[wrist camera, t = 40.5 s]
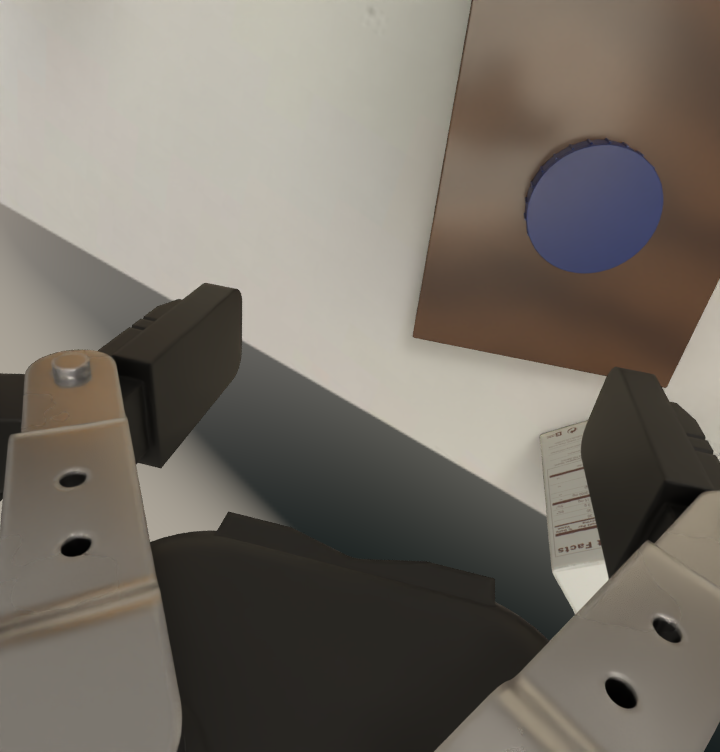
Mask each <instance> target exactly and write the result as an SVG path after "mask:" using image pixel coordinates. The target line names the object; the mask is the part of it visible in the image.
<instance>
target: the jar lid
mask: <svg viewBox="0 0 720 752" xmlns="http://www.w3.org/2000/svg"><path fill="white" fill-rule="evenodd" d="M643 156H644V155H643V154H642V153H641V152H639V151H638V150H637V151H635V150H633V149H632V148H630V147H629V146H628V145H627V144H626V143H624V142H622V143H619V142H616V141H611V140H609V139H608V138H605V140H590V139H587V141H584V142H580V143H577V144H574V145H572V144H570V145H569V147H567V148H565V149H563V150H562V151H560V152H559V153H557V154H555V153H554V154H553V157H552V158H551V159H549V160H548V161H547V162H546V163H545V164H544V166H543V167H542V166H541V167H540V170H539V172H538V173H537V174H536V176H535V178H534V180H533V181H531V182H530V184H531V186H530V188H529V191H528V194H527V197H525V203H526V205H525V213H524V220H526V224H527V228H526V229H527V235H528V236H529V238H530V240H531V242H532V244H533V246H534V249H536V251H537V252H538V253H539V254H540V256H541V257H543V258H544V259H545V260H546V261H547V262H549V263H550V264H552V265H553V266H555V267H557V268H559V269H562V270H565V271H568V272H573V273H596V272H601V271H605V270H608V269H611V268H614V267H616V266H618V265H620V264H622V263H624V262H626V261H627V260H629V259H630V258H632V257H633V256H634V255H635V254H637V253H638V252H639V251H640V250H641V249H642V248H643V247H644V246H645V245H646V244H647V242H648V241H649V240H650V238H651V237H652V235H653V233H654V232H655V230H656V228H657V226H658V223H659V221H660V218H661V214H662V209H663V190H662V185H661V182H660V179H659V176H658V174H657V172H656V171H655V167H654V166H653V165H651V164H650V163H649V162H648V161H647V160H646V159H645V158H644V157H643Z"/></svg>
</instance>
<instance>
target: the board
mask: <svg viewBox="0 0 720 752" xmlns="http://www.w3.org/2000/svg"><path fill="white" fill-rule="evenodd" d="M605 138H608V139H609V140H611V141H616V142H619V143H622V142H624V143H626V144H627V145H628V146H629V147H630V148H632V149H633V150H635V151H637V150H638V151H639V152H641V153H642V154H643V155H644V156H643V157H644V158H645V159H646V160H647V161H648V162H649V163H650V164H651V165H653V166H654V167H655V171H656V172H657V174H658V176H659V179H660V182H661V185H662V190H663V209H662V214H661V218H660V221H659V223H658V226H657V228H656V230H655V232H654V233H653V235H652V237H651V238H650V240H649V241H648V242H647V244H646V245H645V246H644V247H643V248H642V249H641V250H640V251H639V252H638V253H637V254H635V255H634V256H633V257H632V258H630V259H629V260H627V261H626V262H624V263H622V264H620V265H618V266H616V267H614V268H611V269H608V270H605V271H601V272H596V273H573V272H568V271H565V270H562V269H559V268H557V267H555V266H553V265H552V264H550V263H549V262H547V261H546V260H545V259H544V258H543V257H541V256H540V254H539V253H538V252H537V251H536V249H534V246H533V244H532V242H531V240H530V238H529V236H528V235H527V229H526V228H527V224H526V220H524V213H525V205H526V203H525V197H527V194H528V191H529V188H530V186H531V184H530V182H531V181H533V180H534V178H535V176H536V174H537V173H538V172H539V170H540V167H541V166H542V167H543V166H544V164H545V163H546V162H547V161H548V160H549V159H551V158H552V157H553V154H554V153H555V154H557V153H559V152H560V151H562V150H563V149H565V148H567V147H569V145H570V144H572V145H574V144H577V143H580V142H584V141H587V139H590V140H605ZM719 279H720V0H472V2H471V8H470V14H469V19H468V25H467V31H466V36H465V42H464V48H463V53H462V59H461V65H460V70H459V76H458V82H457V87H456V93H455V99H454V104H453V110H452V116H451V121H450V127H449V133H448V138H447V144H446V150H445V155H444V161H443V167H442V172H441V178H440V184H439V189H438V195H437V201H436V206H435V212H434V218H433V223H432V229H431V235H430V240H429V246H428V252H427V257H426V263H425V269H424V274H423V280H422V286H421V291H420V297H419V303H418V308H417V314H416V320H415V325H414V331H413V337H414V338H419V339H424V340H429V341H434V342H439V343H444V344H449V345H454V346H459V347H464V348H469V349H474V350H479V351H484V352H489V353H494V354H499V355H504V356H509V357H514V358H519V359H524V360H529V361H534V362H539V363H544V364H549V365H554V366H559V367H564V368H569V369H574V370H579V371H584V372H589V373H594V374H599V375H604V376H607V375H608V374H609V372H610V371H611V369H612V368H614V367H620V368H625V369H630V370H635V371H640V372H645V373H650V374H654V375H655V376H656V377H657V379H658V381H659V383H660V385H661V387H664V388H666V387H667V385H668V383H669V381H670V379H671V377H672V375H673V373H674V371H675V369H676V367H677V365H678V363H679V361H680V359H681V357H682V355H683V353H684V350H685V348H686V346H687V344H688V342H689V340H690V338H691V336H692V334H693V332H694V330H695V328H696V326H697V324H698V322H699V320H700V318H701V316H702V313H703V311H704V309H705V307H706V305H707V303H708V301H709V299H710V297H711V295H712V293H713V291H714V289H715V287H716V285H717V283H718V281H719Z"/></svg>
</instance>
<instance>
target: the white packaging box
mask: <svg viewBox="0 0 720 752" xmlns="http://www.w3.org/2000/svg"><path fill="white" fill-rule="evenodd" d="M587 422H588V421H584V422H581V423H578V424H574V425H571V426H567V427H564V428H561V429H558V430H554V431H551V432H548V433H545V434H542V435H540V445H541V455H542V465H543V477H544V489H545V500H546V513H547V525H548V536H549V547H550V556H551V565H552V572H553V575H554V576H555V578H556V580H557V582H558V584H559V585H560V587H561V589H562V590H563V592H564V594H565V596H566V598H567V599H568V601H569V603H570V605H571V607H572V608H573V610H574V612H575V614H576V613H577V612H578V611H579V610H580V609H581V608H582V607H583V606H584V605H585V604H586V603H587V602H588V601H589V600H590V599H591V598H592V597H593V596H594V594H595V593H596V592H597V591H598V590H599V589H600V588H601V587H602V586H603V585H604V584H605V583H606V582H607V581H608V580H609V578H608V573H607V569H606V565H605V560H604V556H603V551H602V547H601V542H600V538H599V534H598V529H597V525H596V520H595V516H594V512H593V507H592V503H591V498H590V494H589V489H588V485H587V481H586V476H585V472H584V467H583V463H582V459H581V441H582V436H583V432H584V429H585V427H586V424H587Z"/></svg>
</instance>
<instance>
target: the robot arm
mask: <svg viewBox="0 0 720 752" xmlns="http://www.w3.org/2000/svg"><path fill="white" fill-rule="evenodd" d="M241 355H242V296H241V293H240V291H239V290H238V289H234V288H229V287H224V286H219V285H214V284H209V283H204V284H202V285H201V286H200V287H198V288H197V289H196V290H194V291H193V292H192V293H190V294H189V295H188V296H187V297H185V298H184V299H183V300H181V299H177V300H175V301H172V302H169V303H166V304H163V305H160V306H157V307H156V308H155V309H153V310H152V311H151V312H149V313H148V314H147V315H146V316H144V318H143V319H140V320H139V321H137V322H136V323H135V324H133V325H132V328H130V327H129V328H128V329H126V330H125V331H124V332H122V333H121V334H119V335H118V336H117V337H115V338H114V339H113V340H111V341H110V342H109V343H107V344H106V345H105V346H103V347H102V348H101V349H99V350H98V351H94V350H79V349H78V350H67V351H61V352H56V353H53V354H50V355H47V356H45V357H42V358H40V359H38V360H37V361H35V362H34V363H32V364H31V365H30V366H29V367H28V369H27V370H26V373H25V374H0V501H1V500H2V499H3V503H2V513H1V524H0V752H704V750H705V748H706V746H707V744H708V742H709V740H710V738H711V736H712V735H713V733H714V731H715V729H716V727H717V725H718V723H719V722H720V462H719V460H718V458H717V457H716V455H713V452H714V451H713V450H712V448H711V446H710V444H709V442H708V441H707V440H705V435H704V434H703V432H702V430H701V428H700V427H699V425H698V423H697V421H696V420H695V419H694V418H693V417H692V416H691V415H689V414H688V413H687V412H686V411H685V410H684V409H683V408H682V407H680V406H679V405H678V404H677V403H674V402H669V400H668V398H667V396H666V394H665V392H664V390H663V389H662V387H661V385H660V383H659V381H658V379H657V377H656V376H655V375H654V374H650V373H645V372H640V371H635V370H630V369H625V368H620V367H614V368H612V369H611V371H610V372H609V374H608V375H607V377H606V380H605V382H604V384H603V387H602V389H601V391H600V394H599V396H598V398H597V401H596V403H595V405H594V408H593V410H592V412H591V415H590V417H589V420H588V422H587V424H586V427H585V429H584V432H583V436H582V441H581V459H582V463H583V467H584V472H585V476H586V481H587V485H588V489H589V494H590V498H591V503H592V507H593V512H594V516H595V520H596V525H597V529H598V534H599V538H600V542H601V547H602V551H603V556H604V560H605V565H606V569H607V573H608V578H609V580H608V581H607V582H606V583H605V584H604V585H603V586H602V587H601V588H600V589H599V590H598V591H597V592H596V593H595V594H594V596H593V597H592V598H591V599H590V600H589V601H588V602H587V603H586V604H585V605H584V606H583V607H582V608H581V609H580V610H579V611H578V612H577V613H576V614H575V615H574V617H572V619H571V620H570V621H569V622H568V623H567V624H566V625H565V626H564V627H563V628H562V629H561V630H560V631H559V632H558V633H557V634H556V635H555V636H554V637H553V638H552V639H551V640H550V641H549V640H548V639H547V638H546V637H545V636H543V635H542V634H541V633H540V632H539V631H538V630H537V629H536V628H535V627H533V626H532V625H531V624H529V623H528V622H526V621H525V620H524V619H523V618H521V617H520V616H518V615H517V614H515V613H513V612H512V611H510V610H509V609H507V608H505V607H504V606H502V605H500V604H498V603H496V602H495V579H494V578H490V577H486V576H481V575H478V574H474V573H470V572H466V571H462V570H458V569H454V568H450V567H446V566H442V565H438V564H434V563H430V562H425V561H398V560H373V559H356V558H352V557H350V556H347V555H345V554H343V553H341V552H339V551H337V550H335V549H333V548H331V547H329V546H327V545H325V544H323V543H321V542H319V541H317V540H315V539H313V538H311V537H309V536H307V535H305V534H303V533H301V532H299V531H297V530H295V529H293V528H291V527H288V526H284V525H280V524H276V523H272V522H268V521H263V520H260V519H255V518H252V517H248V516H244V515H240V514H236V513H232V512H228V513H227V515H226V517H225V518H224V520H223V522H222V523H221V525H220V527H219V528H218V530H217V531H197V532H188V533H182V534H176V535H172V536H168V537H164V538H161V539H158V540H155V541H152V542H150V540H149V534H148V528H147V523H146V517H145V512H144V506H143V501H142V495H141V490H140V484H139V479H138V474H137V468H136V464H137V463H142V464H146V465H150V466H154V467H158V468H162V466H163V465H164V464H165V463H166V462H167V460H168V459H169V458H170V457H171V455H172V454H173V453H174V452H175V450H176V449H177V448H178V447H179V446H180V444H181V443H182V442H183V441H184V439H185V438H186V437H187V436H188V434H189V433H190V432H191V431H192V430H193V428H194V427H195V426H196V425H197V423H198V422H199V421H200V420H201V418H202V417H203V416H204V415H205V413H206V412H207V411H208V410H209V409H210V407H211V406H212V405H213V404H214V402H215V401H216V400H217V399H218V397H219V396H220V395H221V394H222V392H223V391H224V390H225V389H226V388H227V386H228V385H229V384H230V383H231V381H232V380H233V379H234V377H235V376H236V374H237V371H238V369H239V365H240V361H241Z"/></svg>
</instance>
